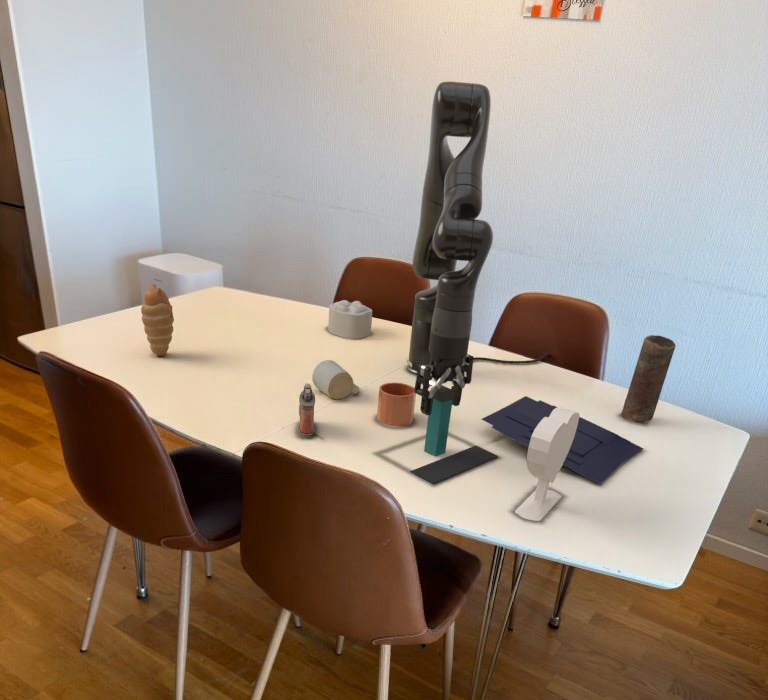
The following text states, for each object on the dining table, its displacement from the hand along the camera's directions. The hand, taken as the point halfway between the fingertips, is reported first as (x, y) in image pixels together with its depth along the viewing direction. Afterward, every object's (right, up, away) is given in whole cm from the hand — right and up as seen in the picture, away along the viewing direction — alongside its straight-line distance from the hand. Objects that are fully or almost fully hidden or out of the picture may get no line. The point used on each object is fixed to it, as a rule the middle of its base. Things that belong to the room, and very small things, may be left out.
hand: (440, 409), depth 144 cm
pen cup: (-9, 0, +18) cm, 20 cm away
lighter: (-28, -3, +10) cm, 30 cm away
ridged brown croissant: (-70, +20, +42) cm, 84 cm away
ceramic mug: (-23, +8, +29) cm, 38 cm away
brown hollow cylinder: (+50, +2, +31) cm, 59 cm away
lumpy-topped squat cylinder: (-22, +34, +72) cm, 83 cm away
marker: (-1, -8, +5) cm, 10 cm away
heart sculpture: (+18, -19, -9) cm, 28 cm away
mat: (0, -9, +5) cm, 10 cm away
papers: (+28, -6, +14) cm, 32 cm away
